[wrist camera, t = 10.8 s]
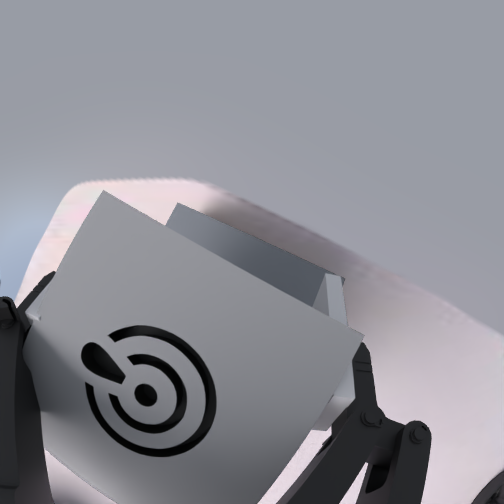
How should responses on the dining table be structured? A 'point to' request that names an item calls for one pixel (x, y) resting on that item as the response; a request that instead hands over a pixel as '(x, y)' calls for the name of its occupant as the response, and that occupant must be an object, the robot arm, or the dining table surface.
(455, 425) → the dining table surface
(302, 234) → the dining table surface
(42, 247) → the dining table surface
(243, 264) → the tower base
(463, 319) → the dining table surface
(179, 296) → the icon cube
